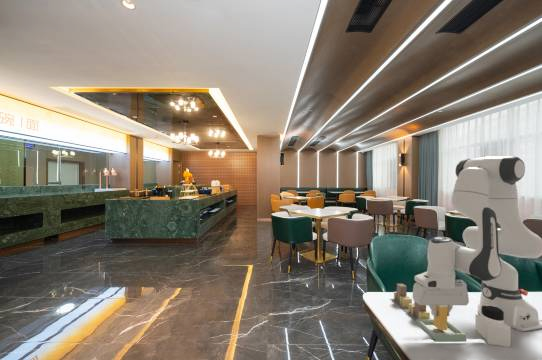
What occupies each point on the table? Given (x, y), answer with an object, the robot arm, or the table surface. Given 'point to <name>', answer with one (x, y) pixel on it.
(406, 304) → the holder
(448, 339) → the tray
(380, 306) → the table surface
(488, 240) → the robot arm
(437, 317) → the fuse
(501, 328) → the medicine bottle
